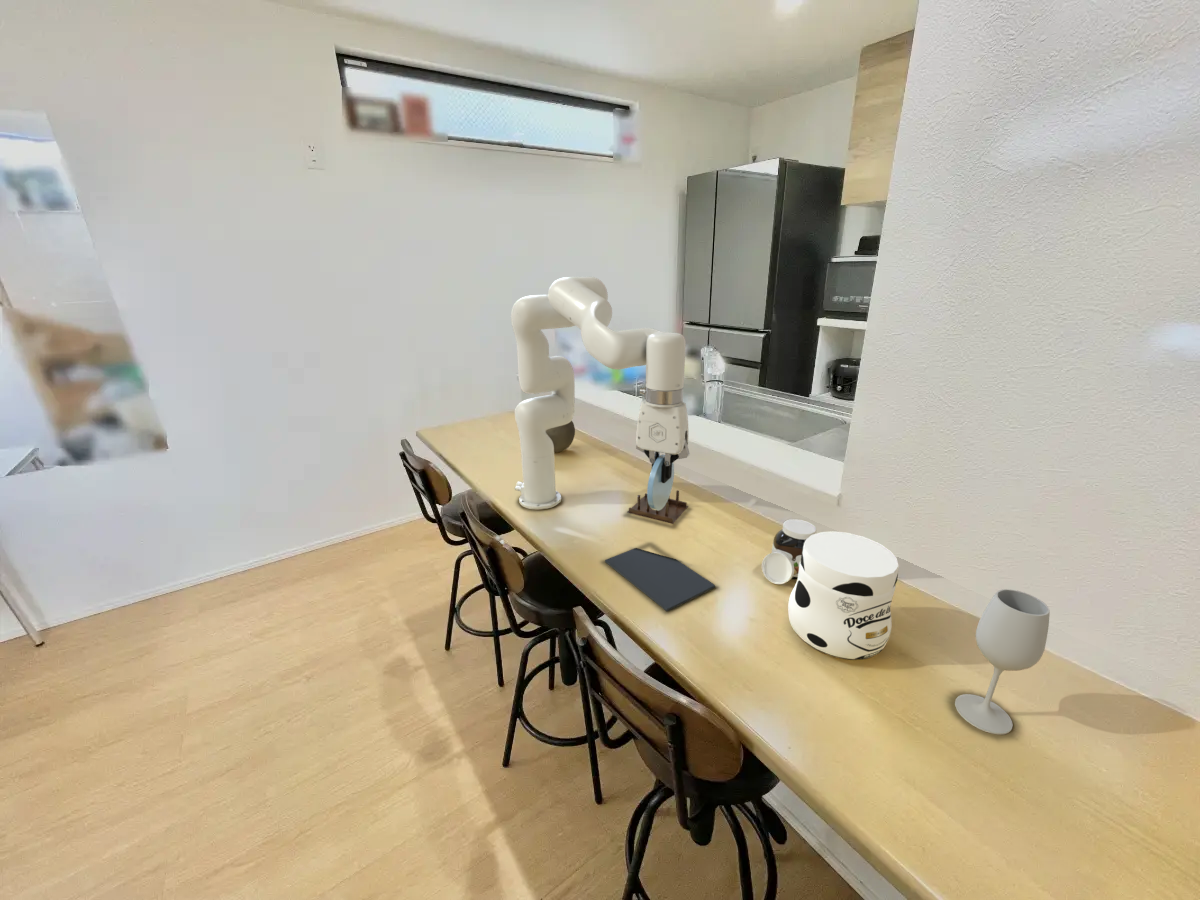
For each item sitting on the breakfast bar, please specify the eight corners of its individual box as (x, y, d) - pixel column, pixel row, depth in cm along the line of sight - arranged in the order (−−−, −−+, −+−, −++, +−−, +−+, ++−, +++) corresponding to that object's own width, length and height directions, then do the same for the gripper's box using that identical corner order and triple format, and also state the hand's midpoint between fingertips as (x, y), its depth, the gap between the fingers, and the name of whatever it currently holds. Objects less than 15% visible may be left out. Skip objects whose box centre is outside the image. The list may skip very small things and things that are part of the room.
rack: (626, 515, 139) (626, 496, 137) (644, 498, 149) (644, 480, 146) (673, 527, 132) (674, 507, 130) (688, 509, 142) (689, 490, 140)
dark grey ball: (533, 449, 190) (531, 411, 185) (567, 443, 196) (566, 407, 191) (545, 461, 178) (543, 421, 173) (581, 455, 184) (580, 416, 179)
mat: (604, 562, 117) (604, 559, 117) (650, 544, 124) (650, 542, 124) (666, 611, 100) (666, 609, 100) (715, 587, 107) (715, 585, 107)
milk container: (882, 684, 82) (904, 594, 76) (775, 645, 91) (787, 561, 84) (888, 624, 96) (908, 543, 89) (795, 595, 104) (807, 520, 98)
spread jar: (815, 566, 114) (822, 521, 110) (818, 594, 104) (827, 547, 100) (761, 557, 118) (766, 513, 114) (759, 584, 108) (765, 537, 104)
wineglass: (941, 696, 80) (975, 587, 72) (985, 692, 80) (1023, 584, 73) (979, 737, 73) (1020, 621, 65) (1027, 733, 73) (1073, 618, 66)
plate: (646, 518, 103) (647, 465, 99) (668, 496, 112) (670, 447, 108) (651, 519, 102) (653, 466, 98) (673, 497, 112) (675, 448, 108)
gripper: (621, 395, 99) (620, 479, 106) (695, 404, 92) (690, 494, 98) (637, 388, 105) (636, 467, 112) (707, 396, 98) (702, 480, 104)
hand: (661, 479), depth 105 cm, fingers closed on plate, 1 cm apart
